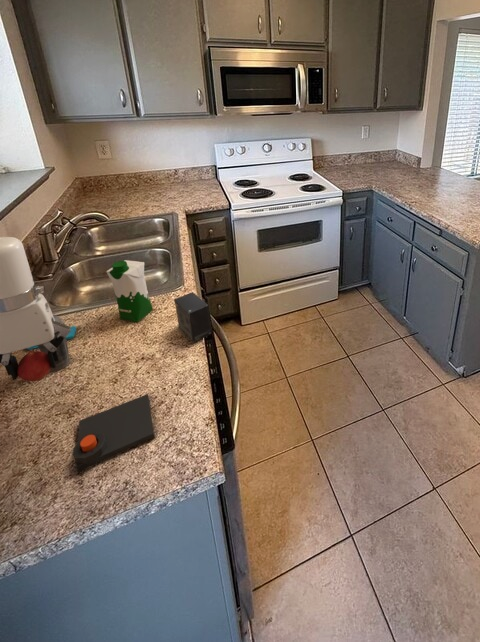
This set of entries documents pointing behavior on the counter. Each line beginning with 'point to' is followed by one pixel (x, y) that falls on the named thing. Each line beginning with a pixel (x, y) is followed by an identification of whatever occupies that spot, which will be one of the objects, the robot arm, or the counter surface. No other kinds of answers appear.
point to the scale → (115, 431)
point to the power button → (88, 443)
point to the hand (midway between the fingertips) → (35, 368)
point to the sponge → (69, 336)
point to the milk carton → (130, 290)
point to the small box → (193, 317)
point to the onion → (33, 366)
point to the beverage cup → (61, 349)
